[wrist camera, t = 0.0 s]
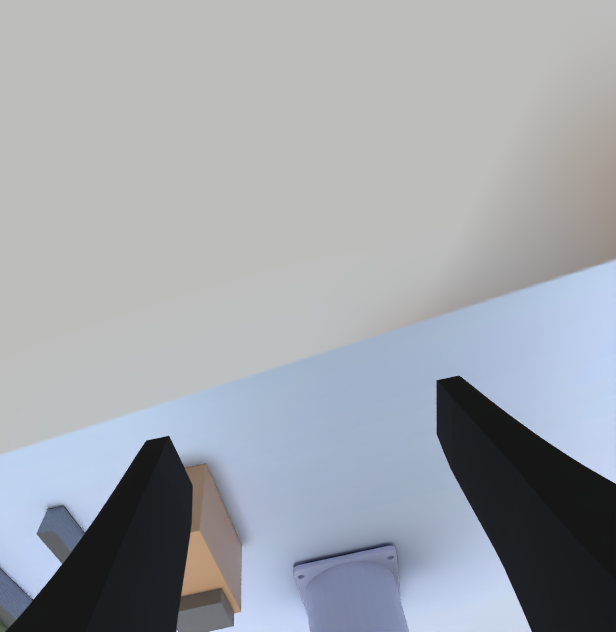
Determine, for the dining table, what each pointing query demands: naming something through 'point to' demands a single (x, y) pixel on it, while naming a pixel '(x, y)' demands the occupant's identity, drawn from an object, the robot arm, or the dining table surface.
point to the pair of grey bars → (61, 538)
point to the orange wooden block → (210, 561)
